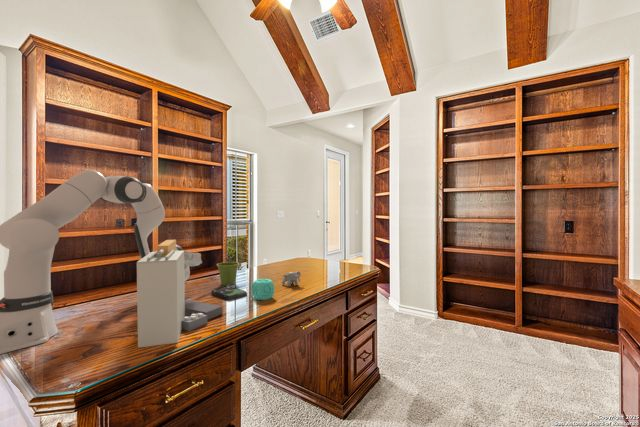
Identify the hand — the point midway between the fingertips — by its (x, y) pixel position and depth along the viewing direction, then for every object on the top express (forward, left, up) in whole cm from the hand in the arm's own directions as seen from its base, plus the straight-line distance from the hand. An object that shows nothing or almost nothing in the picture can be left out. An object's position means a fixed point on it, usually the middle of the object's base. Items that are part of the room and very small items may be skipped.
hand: (174, 253), depth 128 cm
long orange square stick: (-14, -13, +3) cm, 19 cm away
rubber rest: (+1, -11, -23) cm, 26 cm away
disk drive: (+26, -5, -24) cm, 36 cm away
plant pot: (+42, +11, -24) cm, 49 cm away
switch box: (-9, -21, -23) cm, 33 cm away
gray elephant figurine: (+55, -23, -24) cm, 64 cm away
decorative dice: (+30, -22, -24) cm, 44 cm away
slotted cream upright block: (-17, -16, -23) cm, 33 cm away
